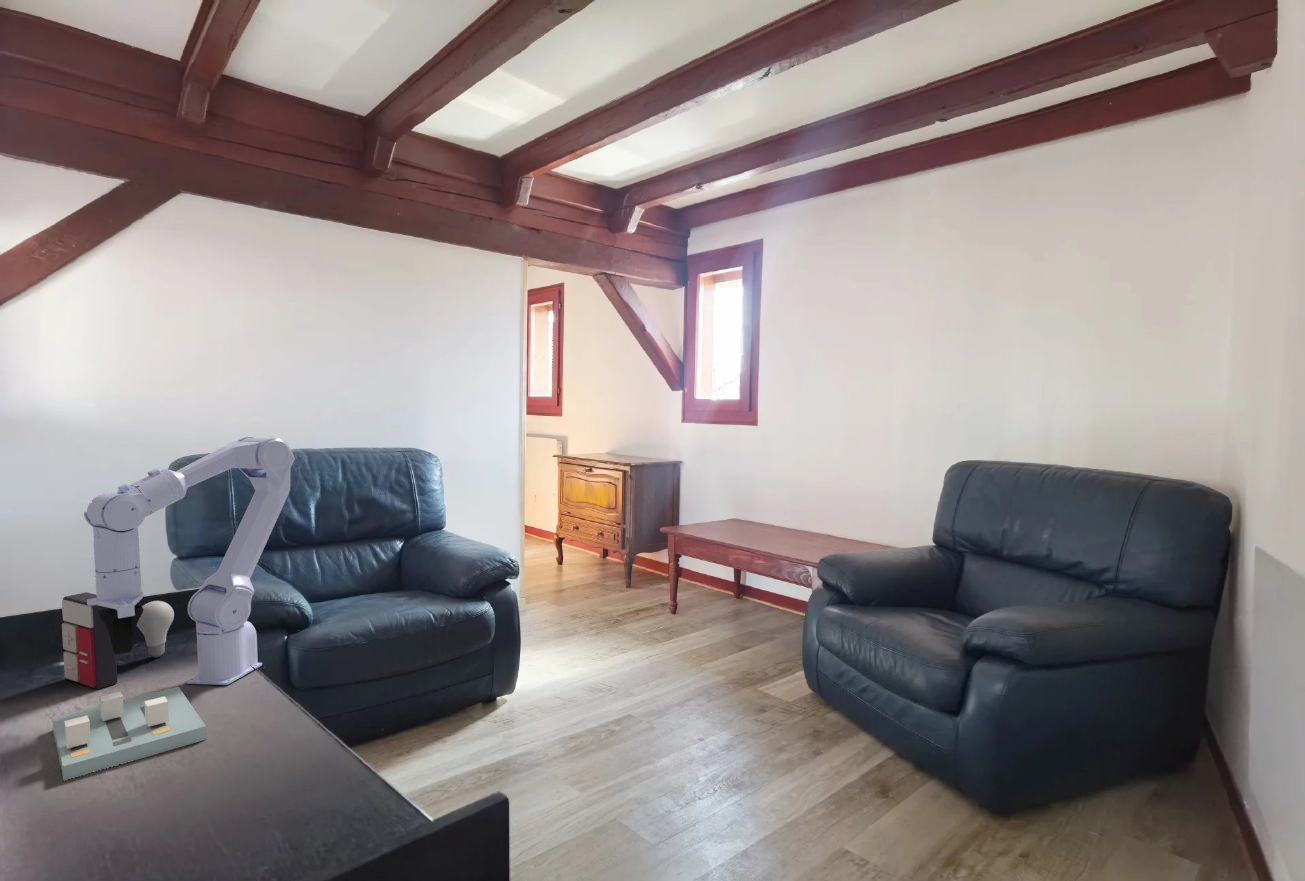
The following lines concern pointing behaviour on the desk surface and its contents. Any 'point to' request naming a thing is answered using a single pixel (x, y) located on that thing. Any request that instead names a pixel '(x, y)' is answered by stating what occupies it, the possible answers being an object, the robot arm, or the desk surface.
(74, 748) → the switch board
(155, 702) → the tab
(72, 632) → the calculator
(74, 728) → the tab
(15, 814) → the desk surface
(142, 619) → the lightbulb
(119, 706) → the tab
